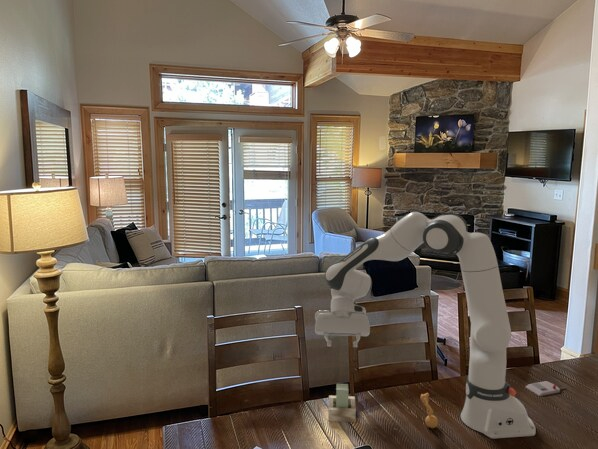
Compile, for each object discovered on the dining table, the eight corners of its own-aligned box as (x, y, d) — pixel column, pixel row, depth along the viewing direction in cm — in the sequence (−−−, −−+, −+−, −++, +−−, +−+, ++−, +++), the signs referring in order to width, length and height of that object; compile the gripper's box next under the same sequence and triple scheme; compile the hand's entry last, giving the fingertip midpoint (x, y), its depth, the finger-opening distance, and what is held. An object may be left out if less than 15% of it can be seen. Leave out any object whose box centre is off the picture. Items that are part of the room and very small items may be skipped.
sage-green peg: (347, 410, 152) (348, 384, 151) (347, 417, 148) (348, 390, 147) (336, 410, 153) (336, 383, 151) (336, 417, 149) (336, 389, 147)
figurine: (442, 434, 139) (443, 399, 137) (423, 435, 139) (424, 400, 137) (432, 419, 147) (434, 386, 146) (415, 419, 147) (416, 386, 145)
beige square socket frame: (354, 407, 155) (354, 396, 154) (355, 422, 146) (355, 411, 145) (328, 405, 155) (329, 395, 155) (328, 421, 147) (328, 409, 146)
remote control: (521, 389, 168) (521, 382, 167) (553, 383, 172) (554, 376, 172) (535, 398, 161) (535, 391, 161) (568, 391, 166) (569, 384, 165)
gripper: (314, 306, 165) (313, 341, 157) (369, 308, 163) (371, 344, 155) (315, 313, 170) (313, 348, 162) (368, 315, 169) (369, 350, 160)
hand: (342, 346), depth 159 cm, fingers open, 8 cm apart
